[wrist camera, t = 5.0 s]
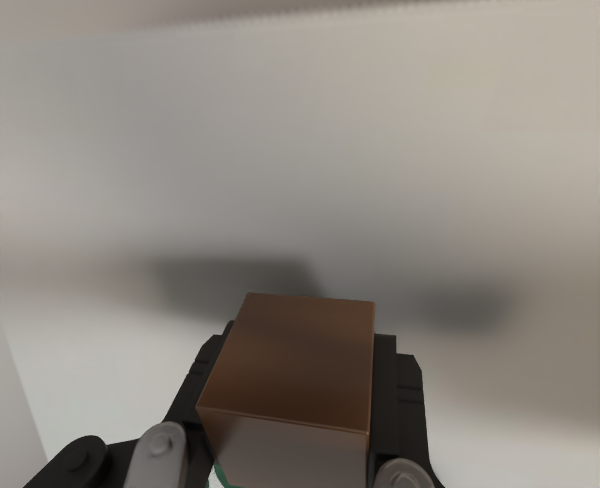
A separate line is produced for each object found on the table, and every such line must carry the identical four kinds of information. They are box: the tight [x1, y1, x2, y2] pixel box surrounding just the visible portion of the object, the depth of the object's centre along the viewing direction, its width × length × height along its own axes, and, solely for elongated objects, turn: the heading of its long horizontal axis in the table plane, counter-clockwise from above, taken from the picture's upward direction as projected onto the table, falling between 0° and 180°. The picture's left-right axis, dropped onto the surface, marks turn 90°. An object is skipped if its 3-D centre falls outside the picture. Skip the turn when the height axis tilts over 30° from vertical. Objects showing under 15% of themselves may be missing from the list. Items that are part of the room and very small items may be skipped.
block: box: [195, 292, 375, 488], centre depth 11 cm, size 4×4×4 cm
